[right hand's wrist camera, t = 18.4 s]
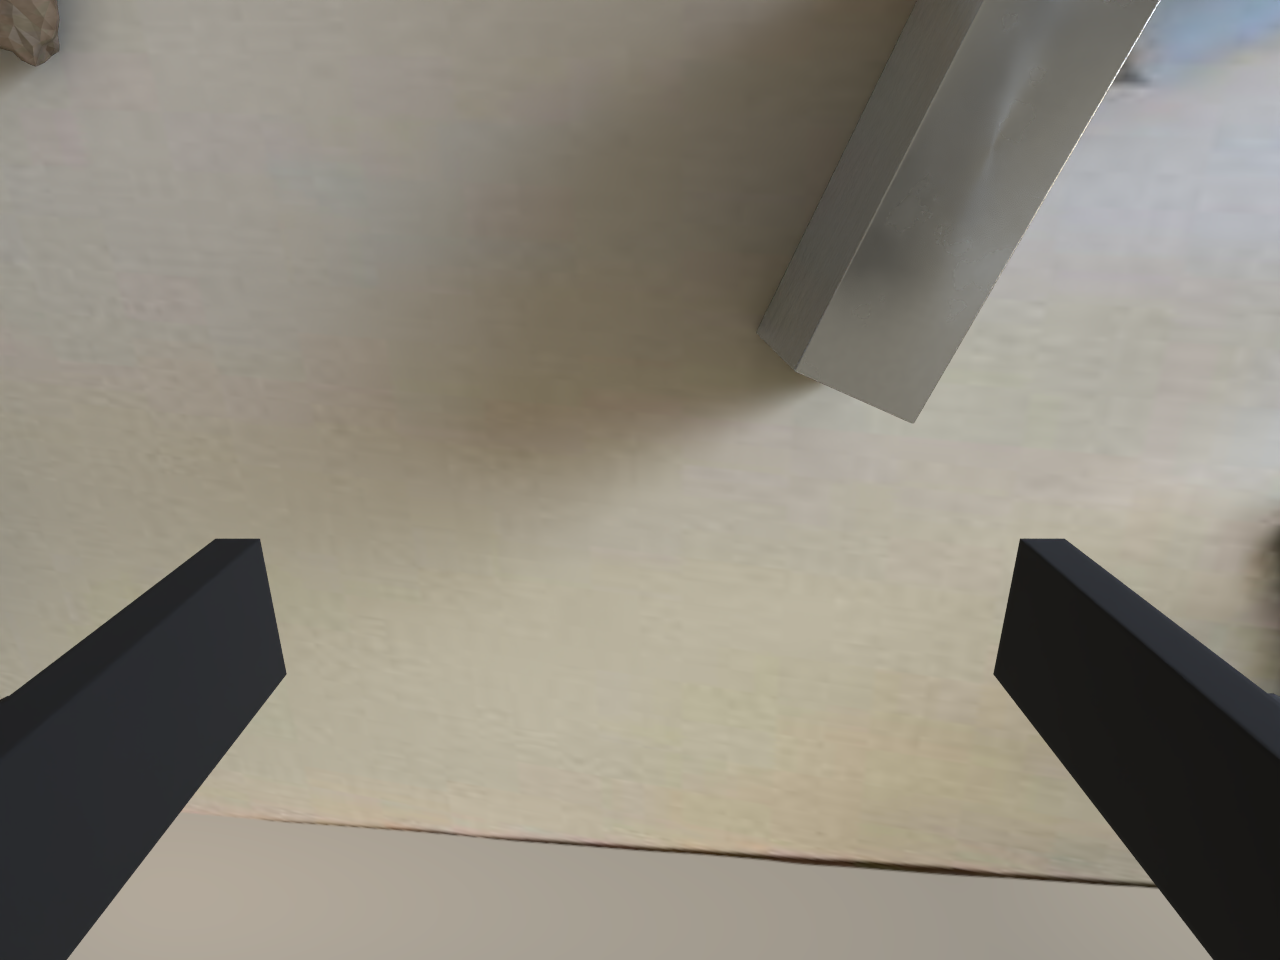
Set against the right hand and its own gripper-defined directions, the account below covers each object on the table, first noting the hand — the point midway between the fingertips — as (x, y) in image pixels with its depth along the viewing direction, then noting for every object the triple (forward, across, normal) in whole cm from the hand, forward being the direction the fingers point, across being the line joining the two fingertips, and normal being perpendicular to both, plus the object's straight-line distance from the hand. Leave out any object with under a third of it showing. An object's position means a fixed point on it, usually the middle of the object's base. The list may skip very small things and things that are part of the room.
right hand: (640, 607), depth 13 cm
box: (+31, -14, -9) cm, 35 cm away
